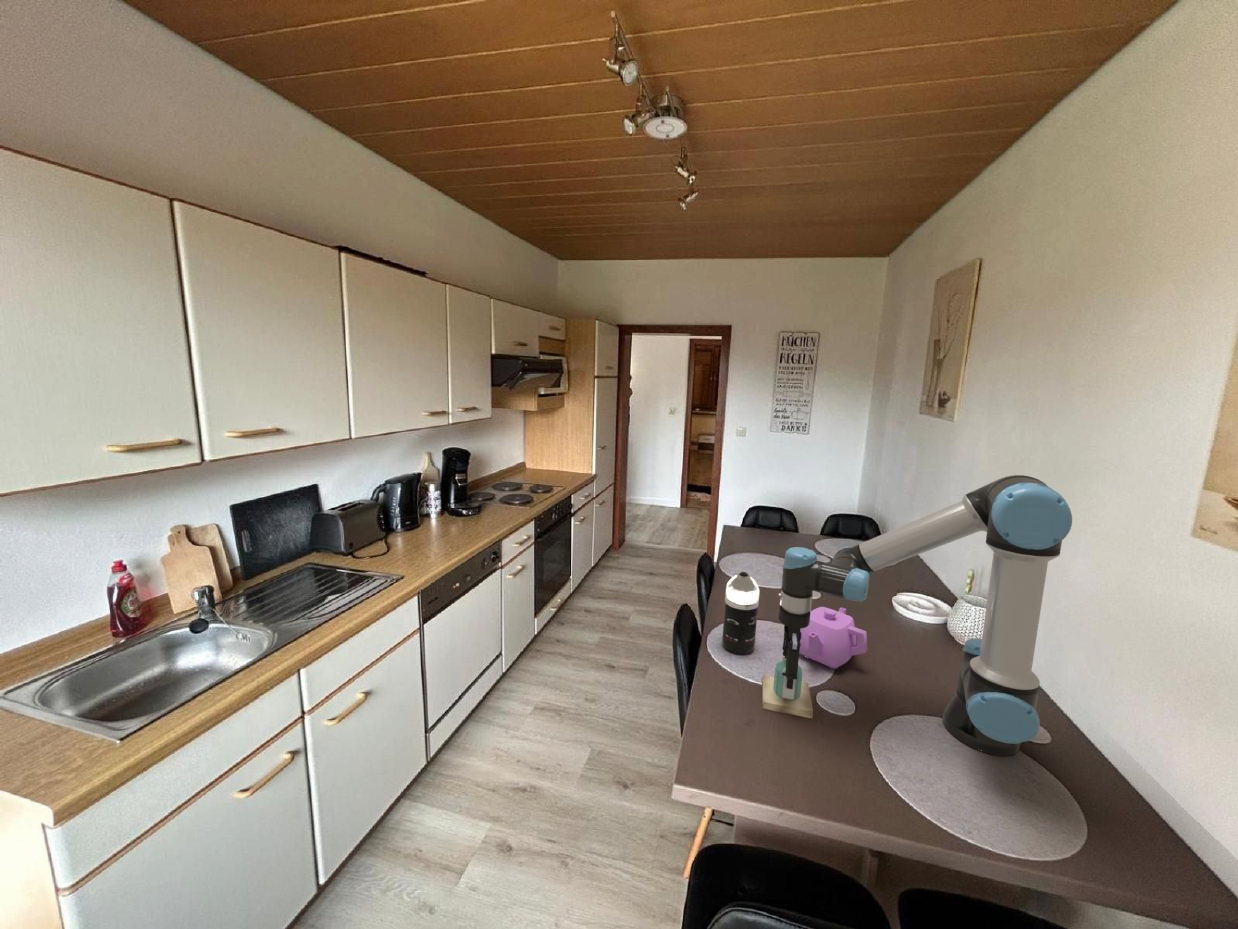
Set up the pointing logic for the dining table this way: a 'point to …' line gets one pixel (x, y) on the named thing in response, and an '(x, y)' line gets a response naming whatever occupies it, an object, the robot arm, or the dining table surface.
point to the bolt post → (779, 704)
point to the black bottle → (740, 614)
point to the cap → (780, 680)
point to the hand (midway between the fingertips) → (786, 688)
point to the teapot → (832, 637)
